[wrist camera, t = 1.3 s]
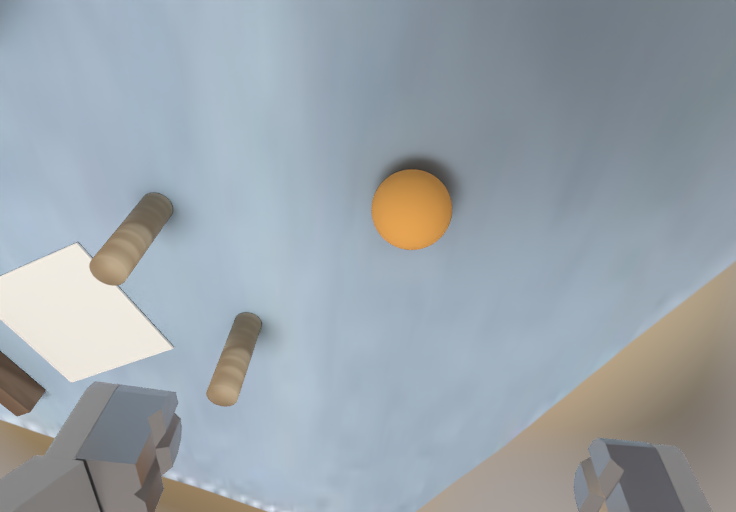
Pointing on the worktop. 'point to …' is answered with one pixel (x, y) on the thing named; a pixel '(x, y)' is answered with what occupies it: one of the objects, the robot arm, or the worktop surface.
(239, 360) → the post
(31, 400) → the stopper wall
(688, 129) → the worktop surface
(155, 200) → the post
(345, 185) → the worktop surface
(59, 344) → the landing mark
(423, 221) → the ball
